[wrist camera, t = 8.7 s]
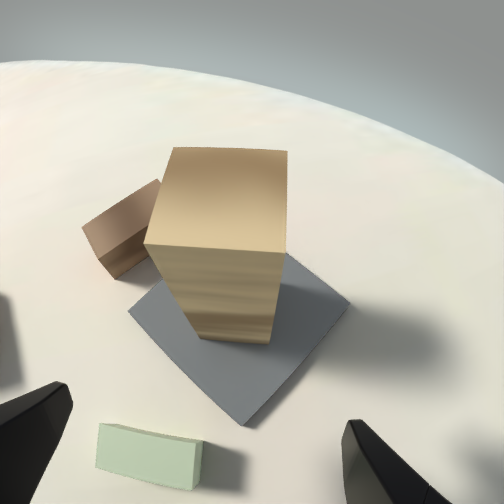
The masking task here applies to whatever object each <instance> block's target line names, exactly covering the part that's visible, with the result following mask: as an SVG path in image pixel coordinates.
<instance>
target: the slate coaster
mask: <svg viewBox="0 0 504 504" xmlns="http://www.w3.org/2000/svg"><path fill="white" fill-rule="evenodd" d="M349 305H350V302H348V301H347V300H346V299H345V298H343V297H342V296H341V295H339V294H338V293H337V292H336V291H334V290H333V289H332V288H331V287H329V286H328V285H327V284H325V283H324V282H323V281H322V280H320V279H319V278H318V277H316V276H315V275H314V274H313V273H311V272H310V271H309V270H307V269H306V268H305V267H304V266H302V265H301V264H300V263H298V262H297V261H296V260H294V259H293V258H292V257H291V256H289V255H288V254H287V253H285V259H284V265H283V270H282V276H281V282H280V288H279V293H278V299H277V304H276V310H275V315H274V321H273V326H272V331H271V337H270V342H269V344H254V343H241V342H229V341H218V340H208V339H200V338H199V337H198V335H197V334H196V332H195V330H194V329H193V327H192V326H191V324H190V322H189V321H188V319H187V318H186V316H185V314H184V313H183V311H182V309H181V308H180V306H179V305H178V303H177V301H176V300H175V298H174V296H173V295H172V293H171V291H170V290H169V288H168V286H167V284H166V283H165V281H164V279H162V280H161V281H160V282H159V283H157V284H156V285H155V286H154V287H153V288H152V289H151V290H150V291H149V292H148V293H147V294H145V295H144V296H143V297H142V298H141V299H140V300H139V301H138V302H137V303H136V304H135V305H134V306H132V307H131V308H130V309H129V310H128V312H129V313H130V315H131V316H132V317H133V318H134V319H135V320H136V321H137V323H138V324H139V325H140V326H141V327H142V328H143V329H144V331H145V332H146V333H147V334H148V335H149V336H150V337H151V338H152V339H153V341H154V342H155V343H156V344H157V345H158V346H159V347H160V348H161V349H162V350H163V351H164V352H165V353H166V355H167V356H168V357H169V358H170V359H171V360H172V361H173V362H174V363H175V364H176V365H177V366H178V367H179V368H180V369H181V370H182V371H183V372H184V373H185V374H186V375H187V376H188V377H189V378H190V379H191V380H192V381H193V382H194V383H195V384H196V385H197V386H198V387H199V388H200V389H201V390H202V391H203V392H204V393H205V394H206V395H207V396H208V397H209V398H210V399H212V400H213V401H214V402H215V403H216V404H217V405H218V406H219V407H220V408H221V409H222V410H223V411H224V412H226V413H227V414H228V415H229V416H230V417H231V418H232V419H233V420H235V421H236V422H237V423H238V424H239V425H240V426H243V425H244V424H245V423H246V422H247V421H248V420H249V419H250V418H251V417H252V416H253V415H254V414H255V412H256V411H257V410H258V409H259V408H260V407H261V406H262V405H263V404H264V403H265V402H266V401H267V400H268V399H269V398H270V397H271V396H272V395H273V394H274V393H275V392H276V390H277V389H278V388H279V387H280V386H281V385H282V384H283V383H284V382H285V381H286V380H287V378H288V377H289V376H290V375H291V374H292V373H293V372H294V371H295V370H296V368H297V367H298V366H299V365H300V364H301V363H302V362H303V360H304V359H305V358H306V357H307V356H308V355H309V353H310V352H311V351H312V350H313V349H314V348H315V346H316V345H317V344H318V343H319V342H320V341H321V339H322V338H323V337H324V336H325V335H326V333H327V332H328V331H329V330H330V328H331V327H332V326H333V325H334V324H335V322H336V321H337V320H338V319H339V317H340V316H341V315H342V314H343V312H344V311H345V310H346V308H347V307H348V306H349Z"/></svg>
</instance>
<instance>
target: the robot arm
mask: <svg viewBox="0 0 504 504" xmlns="http://www.w3.org/2000/svg"><path fill="white" fill-rule="evenodd" d="M72 408H73V401H72V398H71V395H70V392H69V388H68V386H67V385H66V384H65V383H61V382H58V381H55V382H53V383H50V384H48V385H46V386H43V387H41V388H39V389H36V390H34V391H32V392H29V393H27V394H25V395H22V396H20V397H17V398H15V399H13V400H10V401H8V402H5V403H3V404H0V504H30V501H31V499H32V497H33V495H34V493H35V491H36V488H37V486H38V484H39V482H40V480H41V478H42V476H43V474H44V472H45V470H46V468H47V466H48V464H49V462H50V460H51V458H52V456H53V454H54V452H55V450H56V448H57V446H58V444H59V441H60V439H61V437H62V434H63V431H64V429H65V426H66V424H67V421H68V419H69V416H70V413H71V411H72ZM341 444H342V461H343V480H344V489H345V495H346V500H347V504H452V503H451V502H449V501H448V500H447V499H446V498H444V497H443V496H442V495H441V494H440V493H439V492H437V491H436V490H435V489H434V488H433V487H432V486H431V485H430V486H429V483H428V482H426V481H425V480H424V479H423V478H422V477H421V476H420V475H419V474H418V473H417V472H416V471H415V470H414V469H413V468H411V467H410V466H409V465H408V464H407V463H406V462H405V461H404V460H403V459H402V458H401V457H400V456H399V455H398V454H397V453H396V452H395V451H394V450H393V449H392V448H391V447H390V446H388V445H387V444H386V443H385V442H384V441H383V440H382V439H381V438H380V437H379V436H378V435H377V434H376V433H375V432H374V431H373V430H372V429H371V428H370V427H369V426H368V425H367V424H366V423H365V422H364V421H363V420H361V419H356V420H349V421H348V422H347V425H346V428H345V431H344V433H343V436H342V443H341Z"/></svg>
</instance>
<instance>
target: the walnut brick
mask: <svg viewBox="0 0 504 504" xmlns="http://www.w3.org/2000/svg"><path fill="white" fill-rule="evenodd" d="M160 186H161V183H160V181H159V180H158V179H155V180H154V181H152V182H150V183H149V184H147V185H145V186H144V187H142V188H141V189H139V190H137V191H136V192H134V193H133V194H131V195H129V196H128V197H126V198H125V199H123V200H122V201H120V202H118V203H117V204H115V205H114V206H112V207H111V208H109V209H108V210H106V211H105V212H103V213H102V214H100V215H99V216H97V217H96V218H94V219H93V220H91V221H90V222H88V223H87V224H85V225H84V226H83V227H82V229H83V231H84V233H85V235H86V237H87V239H88V241H89V243H90V245H91V247H92V249H93V251H94V253H95V255H96V257H97V258H98V260H99V261H100V262H101V264H102V265H103V266H104V267H105V268H106V270H107V271H108V272H109V273H110V274H111V276H112V277H113V278H114V279H116V278H118V277H119V276H121V275H122V274H123V273H125V272H126V271H128V270H129V269H131V268H132V267H133V266H135V265H136V264H138V263H139V262H141V261H142V260H144V259H145V258H147V257H148V256H150V255H149V253H148V251H147V249H146V248H145V246H144V240H145V236H146V233H147V229H148V226H149V222H150V219H151V215H152V212H153V209H154V205H155V202H156V199H157V196H158V192H159V189H160Z"/></svg>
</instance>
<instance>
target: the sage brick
mask: <svg viewBox="0 0 504 504" xmlns="http://www.w3.org/2000/svg"><path fill="white" fill-rule="evenodd" d="M202 449H203V440H196V439H189V438H183V437H177V436H171V435H165V434H160V433H155V432H150V431H145V430H140V429H136V428H131V427H127V426H123V425H119V424H104V423H100V424H99V433H98V442H97V453H96V466H95V467H96V468H99V469H102V470H105V471H108V472H112V473H115V474H119V475H122V476H126V477H129V478H133V479H137V480H141V481H145V482H150V483H154V484H159V485H163V486H168V487H173V488H179V489H184V490H190V491H192V490H193V489H194V488H195V487H196V485H197V484H198V483H199V482H200V472H201V460H202Z"/></svg>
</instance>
